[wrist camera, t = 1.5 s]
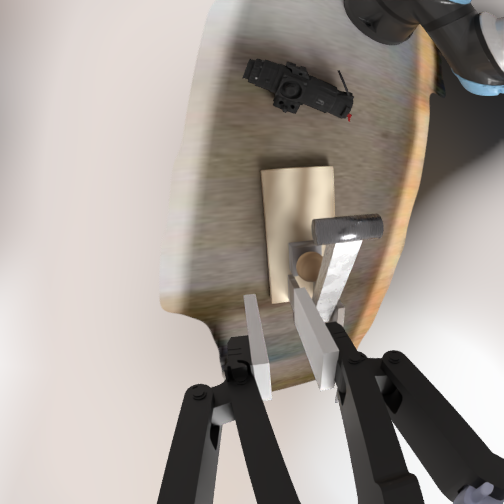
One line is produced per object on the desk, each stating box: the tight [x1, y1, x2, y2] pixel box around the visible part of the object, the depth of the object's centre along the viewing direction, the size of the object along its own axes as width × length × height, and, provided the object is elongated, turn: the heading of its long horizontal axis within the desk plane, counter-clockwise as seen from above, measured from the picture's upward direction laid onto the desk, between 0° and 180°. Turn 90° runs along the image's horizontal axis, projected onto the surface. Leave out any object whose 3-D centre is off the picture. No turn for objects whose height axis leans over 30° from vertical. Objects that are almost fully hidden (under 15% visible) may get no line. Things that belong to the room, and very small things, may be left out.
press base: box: [260, 166, 345, 326], centre depth 42 cm, size 12×24×15 cm, turn 5°
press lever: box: [311, 214, 383, 322], centre depth 33 cm, size 7×21×3 cm, turn 5°
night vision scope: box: [243, 59, 354, 122], centre depth 36 cm, size 8×18×10 cm
